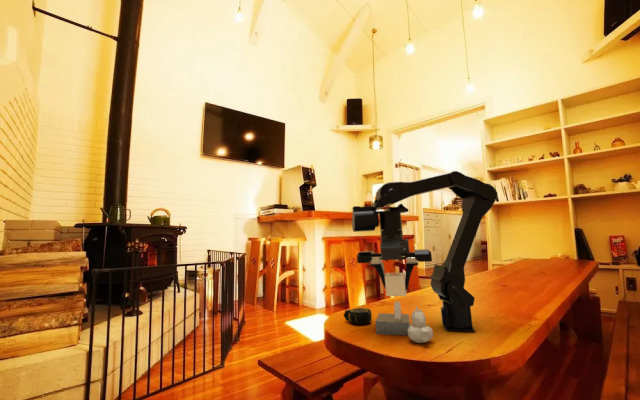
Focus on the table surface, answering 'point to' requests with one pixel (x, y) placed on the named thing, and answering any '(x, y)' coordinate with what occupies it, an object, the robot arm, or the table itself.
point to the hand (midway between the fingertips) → (396, 289)
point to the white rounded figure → (419, 328)
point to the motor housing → (393, 322)
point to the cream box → (395, 284)
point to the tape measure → (358, 315)
